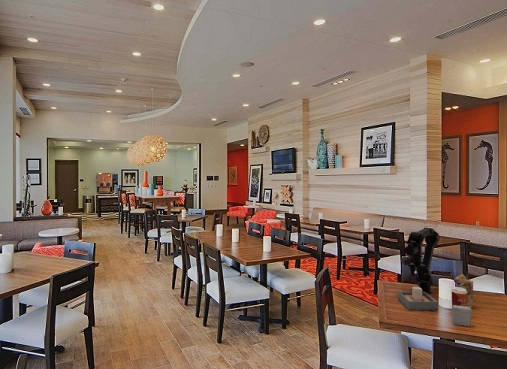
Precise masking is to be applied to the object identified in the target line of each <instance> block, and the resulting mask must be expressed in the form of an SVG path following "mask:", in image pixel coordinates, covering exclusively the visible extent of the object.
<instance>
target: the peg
mask: <svg viewBox="0 0 507 369" xmlns="http://www.w3.org/2000/svg"><path fill="white" fill-rule="evenodd" d="M411 292H412V300H413V301H422V289H421V288H420V287H418V286H412V289H411Z"/></svg>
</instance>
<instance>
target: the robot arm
mask: <svg viewBox="0 0 507 369" xmlns="http://www.w3.org/2000/svg"><path fill="white" fill-rule="evenodd" d="M440 241H441V236H440V233H439V232H438V231H436V230H434V228H432V227H427V226H426V227H423V228H422V229H421V230H418V231H411V232H410V233H409V235H408V238H407V241H406V244H407V246H405V248H404V250H403V251H404V253H405V255H406V256H405V257H402V258H401V259H400V260H401V263H402V265H404V266H407V267H409V271H410V275H411V276H412V277H414V276H415V280H416V282H418V283H417V287H420V288H421V289H422V292H426V293H427V294H432V293H433V292H432V291H431V290H432V289H431V287H432V286H431V285H433V284H434V279H433V276H432V272H431V269H430V268H431V264H432V259H433V255H434V250H435V248H436V247H437V246H438V244H439V242H440ZM424 242H425V244H426V245H425V249H424V255H422V251H423V249H422V246H423V244H424Z"/></svg>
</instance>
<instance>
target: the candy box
mask: <svg viewBox="0 0 507 369" xmlns="http://www.w3.org/2000/svg"><path fill="white" fill-rule="evenodd" d="M466 279H467V278H466ZM466 279H461V278H457V277H454V278H453V283H454V282H455V287H461V288H464V289H466V291H467V294H466V304H465V307H469V308H470V309H472V308H473V306H474V305H473V304H474V302H473V300H474V280H470V279H467V280H466Z"/></svg>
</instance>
